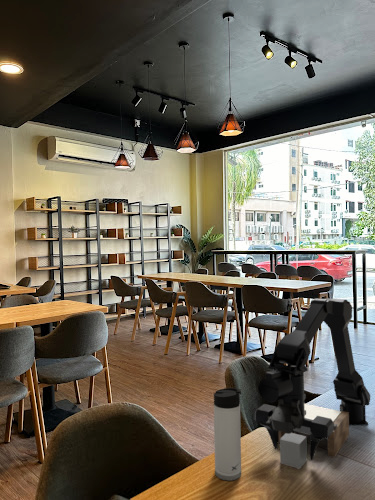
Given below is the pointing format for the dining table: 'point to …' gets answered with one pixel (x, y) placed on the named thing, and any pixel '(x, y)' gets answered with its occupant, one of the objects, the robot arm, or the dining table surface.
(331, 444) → the trapdoor frame
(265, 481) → the dining table surface
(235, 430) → the travel mug
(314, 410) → the trapdoor
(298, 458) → the light gray block
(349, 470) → the dining table surface
